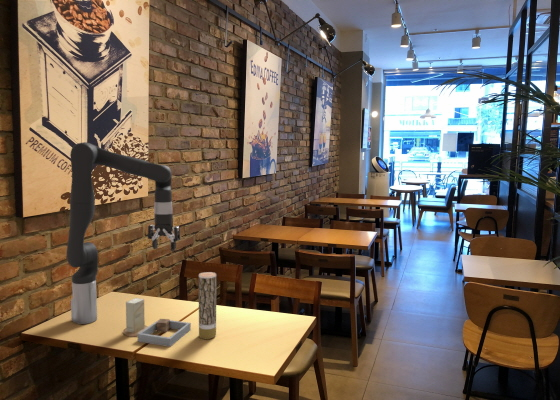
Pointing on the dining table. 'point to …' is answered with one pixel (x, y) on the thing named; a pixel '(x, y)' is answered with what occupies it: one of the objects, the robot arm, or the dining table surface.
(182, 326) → the parts bin
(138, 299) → the skincare box
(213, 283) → the paper tube
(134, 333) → the cork coaster
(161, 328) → the walnut block
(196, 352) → the dining table surface
